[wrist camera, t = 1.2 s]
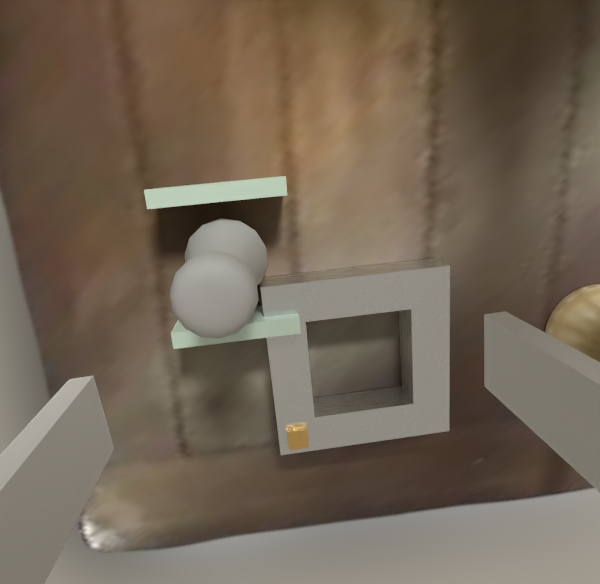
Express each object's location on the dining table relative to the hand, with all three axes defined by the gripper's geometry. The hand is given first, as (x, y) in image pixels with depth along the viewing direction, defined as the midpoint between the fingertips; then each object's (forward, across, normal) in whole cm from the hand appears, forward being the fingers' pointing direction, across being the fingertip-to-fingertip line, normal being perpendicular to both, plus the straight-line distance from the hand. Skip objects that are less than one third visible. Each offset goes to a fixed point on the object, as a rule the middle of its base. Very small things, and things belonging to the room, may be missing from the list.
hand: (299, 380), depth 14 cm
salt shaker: (+20, -3, +1) cm, 20 cm away
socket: (+20, +6, -8) cm, 22 cm away
